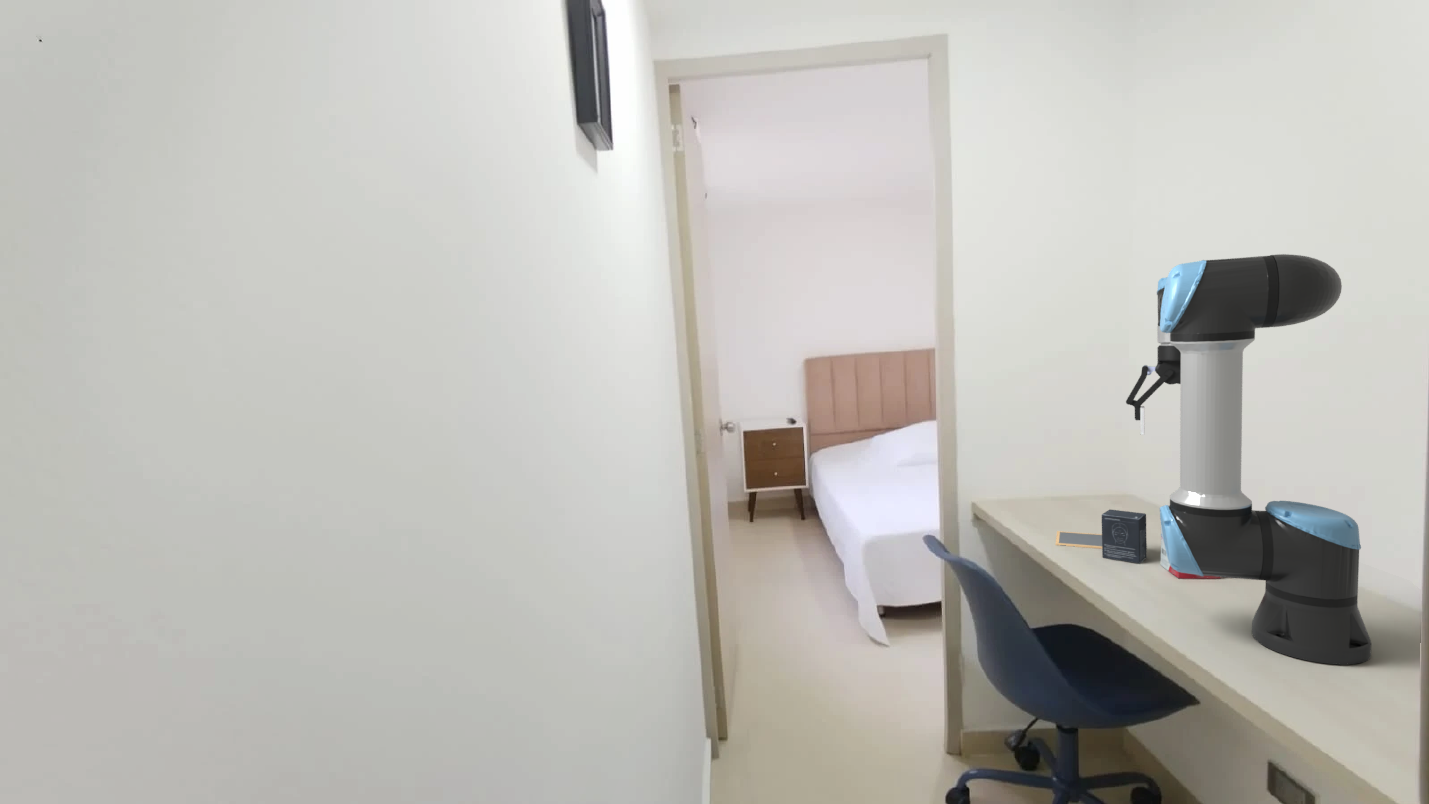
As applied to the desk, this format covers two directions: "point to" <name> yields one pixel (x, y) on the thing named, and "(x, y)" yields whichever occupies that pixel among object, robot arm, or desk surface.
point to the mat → (1079, 539)
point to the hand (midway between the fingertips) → (1176, 434)
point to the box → (1124, 536)
